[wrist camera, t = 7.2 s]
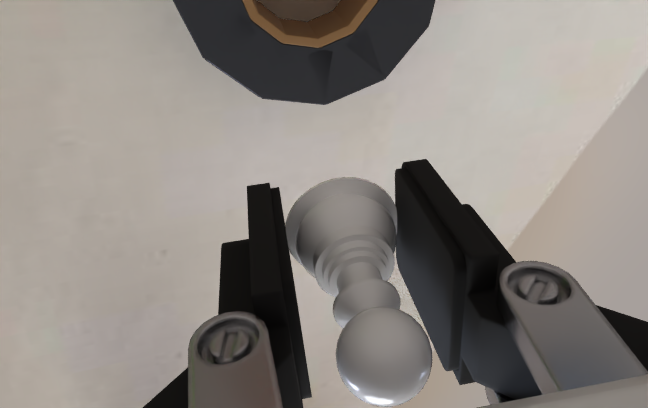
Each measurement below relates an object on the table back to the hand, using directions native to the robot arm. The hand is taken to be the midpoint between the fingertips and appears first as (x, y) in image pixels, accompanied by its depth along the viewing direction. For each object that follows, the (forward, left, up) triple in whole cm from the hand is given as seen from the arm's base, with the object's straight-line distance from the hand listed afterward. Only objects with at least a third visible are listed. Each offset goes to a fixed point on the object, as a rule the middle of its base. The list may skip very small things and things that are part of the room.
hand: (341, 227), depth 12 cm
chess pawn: (0, 0, 0) cm, 0 cm away
